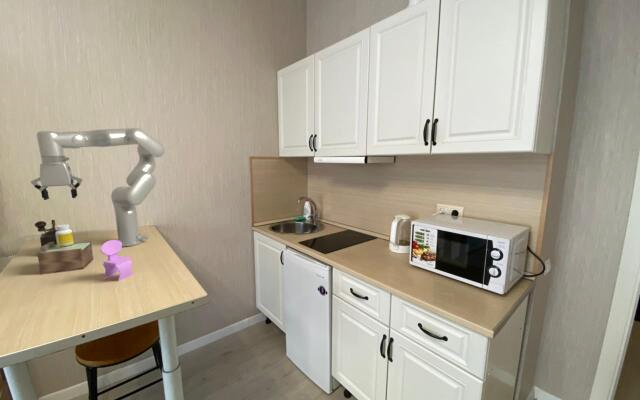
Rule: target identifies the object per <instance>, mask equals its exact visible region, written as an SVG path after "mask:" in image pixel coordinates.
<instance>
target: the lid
mask: <svg viewBox="0 0 640 400" xmlns="http://www.w3.org/2000/svg"><path fill="white" fill-rule="evenodd" d="M89 244H90V242H88V243H78V244H74V246H73V247H70V248H66V249H58V247H57V246H55V244H54V242H49V243H47V244H45V245H44V246H42V247H39V249H40V250H39V253H42V252H52V251H61V250H71V249H81V248H82V250H83V249H84V248H85V247H87V246H88V245H89Z"/></svg>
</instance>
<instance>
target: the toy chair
mask: <svg viewBox="0 0 640 400" xmlns="http://www.w3.org/2000/svg"><path fill="white" fill-rule="evenodd" d="M121 250H122V243H121V242H120V241H118V239H111V240H107V241H105V242H104V243H103V244H102V245H101V247H100V253H101V254H104V255H105V256H107V258H108V259H107V260H104V261H103V268H104V274H103V276H102V279H106V278H108V277H110V276H113V275H116V274H118V273H119V276H118V279H117V282H120V281H122V280H125V279H127V278H129V277H132V276H133V275H134V274H133V271H132V264H133V262H132V259H131V257H128V256H121V255H118V253H119V252H121Z"/></svg>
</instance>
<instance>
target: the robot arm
mask: <svg viewBox="0 0 640 400" xmlns="http://www.w3.org/2000/svg"><path fill="white" fill-rule="evenodd" d="M36 139H37V144H38V147H39V154H40V159H41V163H40V165H39V177H37V178H34V179H32V180H31V181H30V183H31V185H33V186H34V188H36V189H37V190H39V192H40V193H41V197H42V199H43V200H44V201H47V200H49V199H50V197H49V192H48V190H47V189H48V188H49V187H63V186H65V187H66V186H67V187H69V188H71V189H70V194H71V198H72V199H77V197H78V188H79V187H80V185H81V183H82V182H83V178H81V177H77V176H75V175H73V173H72V169H71V165H70V164H69V162H68V161H70V158H69V157H67V156H65V152H64V149H74V150H75V149H81V148H89V147H98V148H99V147H100V148H105V147H106V148H107V147H118V146H119V147H120V146H128V145H129V146H133V145H137V147H136V148H137V150H136V151H137V154H138V158H139V159H138V162H137V164H136V165H135V167H134V168H133V169H132V170H131V172H130V173H129V174H128V175H127V177H126V181H125V182H126V184H127V185H128V186H118V187H115V188H114V189H113V191H112V192H111V194H110V197H111V198H110V199H111V202H112V205H113V208H114V214H115V222H116V231H117V232H116V233H117V237H118V238H117V240H118V241H120V242H121V243H122V247H123V248H124V247H126V246H127V247H132V246H137V245H140V244H142V243H143V242H144V240H148V239H149V235H147V234H144V235H142V234H141V232H140V231H139V223H138V212H137V209H136V206H138V205H141V204H142V203H144V201H145V199H146V198H147V197H148V195H150V193H151V191H152V190H153V189H154V188H155V185H156V177H155V175H154V174H153V172H154V171H155V169H156V166H157V165H156V160H155V158H161V157H162V156H163V155H164V153H165V147H164V145H163V144H162V143H161V142H160V141H159V140H157V138H155V137H153V136H152V135H150V134H149V133H148V132H147V131H145V130H144V129H142V128H140V127H139V128H138V127H131V128H130V127H129V128H105V129H104V128H102V129H93V130H85V131H84V130H82V131H62V132H61V131H60V132H58V131H52V130H51V131H50V130H49V131H48V130H47V131H43V130H41V131H37V133H36ZM74 181H77V182H76V183H75V182H74ZM38 182H40V183H41V185H40V184H39V183H38Z"/></svg>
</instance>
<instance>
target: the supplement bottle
mask: <svg viewBox="0 0 640 400" xmlns="http://www.w3.org/2000/svg"><path fill="white" fill-rule="evenodd" d="M56 230H58V231H56V233H55V234H56V241H57V247H58V249H66V248H70V247H73V246H74V243H75V241H74V235H73V234H74V233H73V230H72V229H70V224H69V223H68V224H67V223H66V224H65V223H64V224H58V225H57V226H56Z"/></svg>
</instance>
